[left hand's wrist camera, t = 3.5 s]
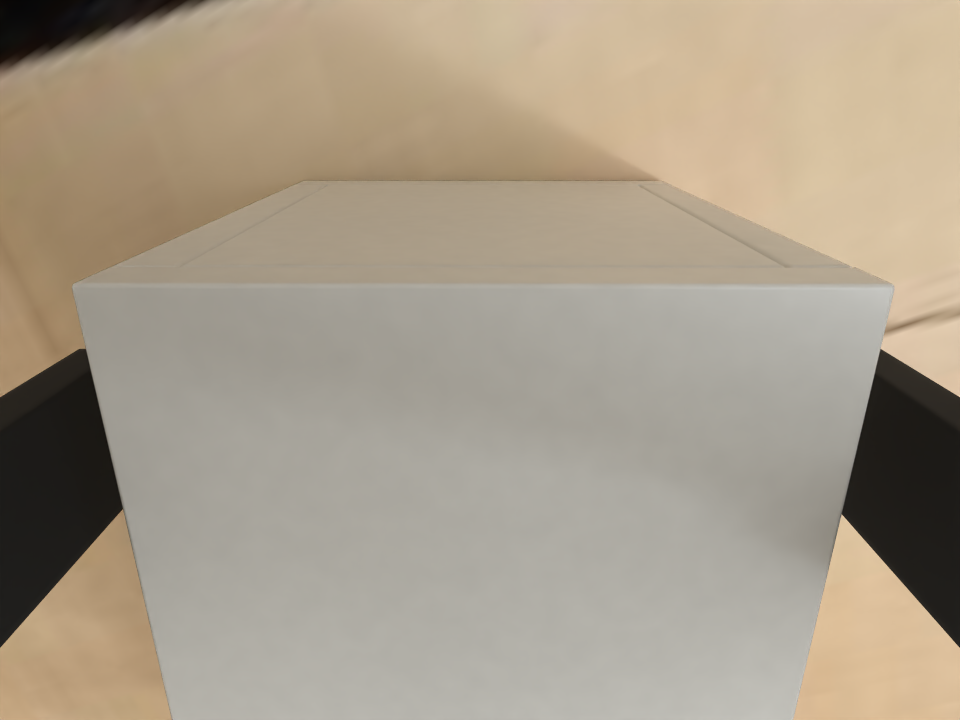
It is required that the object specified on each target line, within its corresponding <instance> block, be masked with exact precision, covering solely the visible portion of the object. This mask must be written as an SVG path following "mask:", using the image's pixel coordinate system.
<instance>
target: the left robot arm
mask: <svg viewBox="0 0 960 720" xmlns="http://www.w3.org/2000/svg"><path fill="white" fill-rule="evenodd" d="M122 509H123V506H122V502H121V497H120V493H119V489H118V484H117V480H116V476H115V472H114V467H113V463H112V459H111V454H110V450H109V446H108V441H107V437H106V433H105V428H104V424H103V420H102V415H101V411H100V407H99V403H98V398H97V394H96V390H95V385H94V381H93V377H92V372H91V368H90V364H89V359H88V355H87V351H86V349H79V350H77V351H75V352H74V353H72V354H70V355H69V356H67V357H65V358H64V359H62V360H61V361H59V362H57V363H56V364H54V365H52V366H51V367H49V368H47V369H46V370H44V371H43V372H41V373H39V374H38V375H36V376H34V377H33V378H31V379H29V380H28V381H26V382H25V383H23V384H21V385H20V386H18V387H16V388H15V389H13V390H11V391H10V392H8V393H7V394H5V395H3V396H2V397H0V647H1V646H2V645H3V644H4V643H5V642H6V641H7V639H8V638H9V637H10V636H11V635H12V634H13V633H14V631H15V630H16V629H17V628H18V627H19V626H20V625H21V624H22V622H23V621H24V620H25V619H26V618H27V617H28V616H29V614H30V613H31V612H32V611H33V610H34V609H35V608H36V607H37V605H38V604H39V603H40V602H41V601H42V600H43V599H44V598H45V596H46V595H47V594H48V593H49V592H50V591H51V590H52V588H53V587H54V586H55V585H56V584H57V583H58V582H59V581H60V579H61V578H62V577H63V576H64V575H65V574H66V573H67V571H68V570H69V569H70V568H71V567H72V566H73V565H74V564H75V562H76V561H77V560H78V559H79V558H80V557H81V556H82V554H83V553H84V552H85V551H86V550H87V549H88V548H89V547H90V545H91V544H92V543H93V542H94V541H95V540H96V539H97V537H98V536H99V535H100V534H101V533H102V532H103V531H104V530H105V528H106V527H107V526H108V525H109V524H110V523H111V522H112V520H113V519H114V518H115V517H116V516H117V515H118V514H119V513H120V511H121V510H122ZM842 515H843V516H844V517H845V518H846V519H847V520H848V522H849V523H850V524H851V525H852V526H853V527H854V528H855V530H856V531H857V532H858V533H859V534H860V535H861V536H862V537H863V539H864V540H865V541H866V542H867V543H868V544H869V545H870V547H871V548H872V549H873V550H874V551H875V552H876V553H877V554H878V556H879V557H880V558H881V559H882V560H883V561H884V562H885V564H886V565H887V566H888V567H889V568H890V569H891V570H892V571H893V573H894V574H895V575H896V576H897V577H898V578H899V579H900V581H901V582H902V583H903V584H904V585H905V586H906V587H907V588H908V590H909V591H910V592H911V593H912V594H913V595H914V596H915V598H916V599H917V600H918V601H919V602H920V603H921V604H922V605H923V607H924V608H925V609H926V610H927V611H928V612H929V613H930V615H931V616H932V617H933V618H934V619H935V620H936V621H937V622H938V624H939V625H940V626H941V627H942V628H943V629H944V630H945V631H946V633H947V634H948V635H949V636H950V637H951V638H952V639H953V641H954V642H955V643H956V644H957V645H958V646H959V647H960V397H958V396H957V395H955V394H953V393H952V392H950V391H949V390H947V389H945V388H944V387H942V386H940V385H939V384H937V383H935V382H934V381H932V380H931V379H929V378H927V377H926V376H924V375H922V374H921V373H919V372H917V371H916V370H914V369H913V368H911V367H909V366H908V365H906V364H904V363H903V362H901V361H899V360H898V359H896V358H895V357H893V356H891V355H890V354H888V353H886V352H885V351H883V350H881V349H880V353H879V357H878V361H877V365H876V370H875V374H874V378H873V382H872V387H871V391H870V395H869V399H868V404H867V408H866V412H865V416H864V421H863V425H862V429H861V433H860V438H859V442H858V446H857V450H856V455H855V459H854V463H853V467H852V471H851V476H850V480H849V484H848V488H847V493H846V497H845V501H844V505H843V510H842Z"/></svg>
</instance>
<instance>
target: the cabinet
mask: <svg viewBox="0 0 960 720" xmlns="http://www.w3.org/2000/svg"><path fill="white" fill-rule="evenodd" d="M72 290H73V295H74V299H75V303H76V308H77V312H78V316H79V321H80V325H81V329H82V334H83V338H84V342H85V346H86V351H87V355H88V359H89V364H90V368H91V372H92V377H93V381H94V385H95V390H96V394H97V398H98V403H99V407H100V411H101V415H102V420H103V424H104V428H105V433H106V437H107V441H108V446H109V450H110V454H111V459H112V463H113V467H114V472H115V476H116V480H117V484H118V489H119V493H120V497H121V502H122V506H123V510H124V515H125V519H126V523H127V528H128V532H129V536H130V541H131V545H132V549H133V553H134V558H135V562H136V566H137V571H138V575H139V579H140V584H141V588H142V592H143V597H144V601H145V605H146V610H147V614H148V618H149V623H150V627H151V631H152V635H153V640H154V644H155V648H156V653H157V657H158V661H159V666H160V670H161V674H162V679H163V683H164V687H165V692H166V696H167V700H168V704H169V709H170V713H171V717H172V720H793V718H794V713H795V709H796V705H797V701H798V696H799V692H800V688H801V684H802V680H803V675H804V671H805V667H806V663H807V658H808V654H809V650H810V646H811V641H812V637H813V633H814V629H815V624H816V620H817V616H818V612H819V607H820V603H821V599H822V595H823V590H824V586H825V582H826V578H827V573H828V569H829V565H830V561H831V556H832V552H833V548H834V544H835V539H836V535H837V531H838V527H839V522H840V518H841V514H842V510H843V505H844V501H845V497H846V493H847V488H848V484H849V480H850V476H851V471H852V467H853V463H854V459H855V455H856V450H857V446H858V442H859V438H860V433H861V429H862V425H863V421H864V416H865V412H866V408H867V404H868V399H869V395H870V391H871V387H872V382H873V378H874V374H875V370H876V365H877V361H878V357H879V353H880V348H881V344H882V340H883V336H884V331H885V327H886V323H887V319H888V314H889V310H890V306H891V302H892V297H893V293H894V285H893V284H891V283H889V282H887V281H884V280H882V279H880V278H878V277H876V276H873V275H871V274H869V273H867V272H864V271H862V270H860V269H858V268H852V267H851V266H849V265H846V264H844V263H842V262H840V261H838V260H835V259H833V258H831V257H829V256H826V255H824V254H822V253H820V252H818V251H815V250H813V249H811V248H809V247H807V246H804V245H802V244H800V243H798V242H795V241H793V240H791V239H789V238H787V237H784V236H782V235H780V234H778V233H776V232H773V231H771V230H769V229H767V228H765V227H762V226H760V225H758V224H756V223H753V222H751V221H749V220H747V219H745V218H742V217H740V216H738V215H736V214H734V213H731V212H729V211H727V210H725V209H722V208H720V207H718V206H716V205H714V204H711V203H709V202H707V201H705V200H703V199H700V198H698V197H696V196H694V195H691V194H689V193H687V192H685V191H683V190H680V189H678V188H676V187H674V186H672V185H670V184H668V183H665V182H663V181H302V182H300V183H297V184H295V185H292V186H290V187H288V188H286V189H284V190H281V191H279V192H277V193H275V194H272V195H270V196H268V197H266V198H263V199H261V200H259V201H257V202H255V203H252V204H250V205H248V206H246V207H243V208H241V209H239V210H237V211H235V212H232V213H230V214H228V215H226V216H223V217H221V218H219V219H217V220H214V221H212V222H210V223H208V224H206V225H203V226H201V227H199V228H197V229H194V230H192V231H190V232H188V233H185V234H183V235H181V236H179V237H177V238H174V239H172V240H170V241H168V242H165V243H163V244H161V245H159V246H157V247H154V248H152V249H150V250H148V251H145V252H143V253H141V254H139V255H136V256H134V257H132V258H130V259H128V260H125V261H123V262H121V263H119V264H116V265H114V266H113V267H109V268H107V269H105V270H103V271H100V272H98V273H96V274H94V275H91V276H89V277H87V278H85V279H83V280H80V281H78V282H76V283H74V284H73V285H72Z"/></svg>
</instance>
